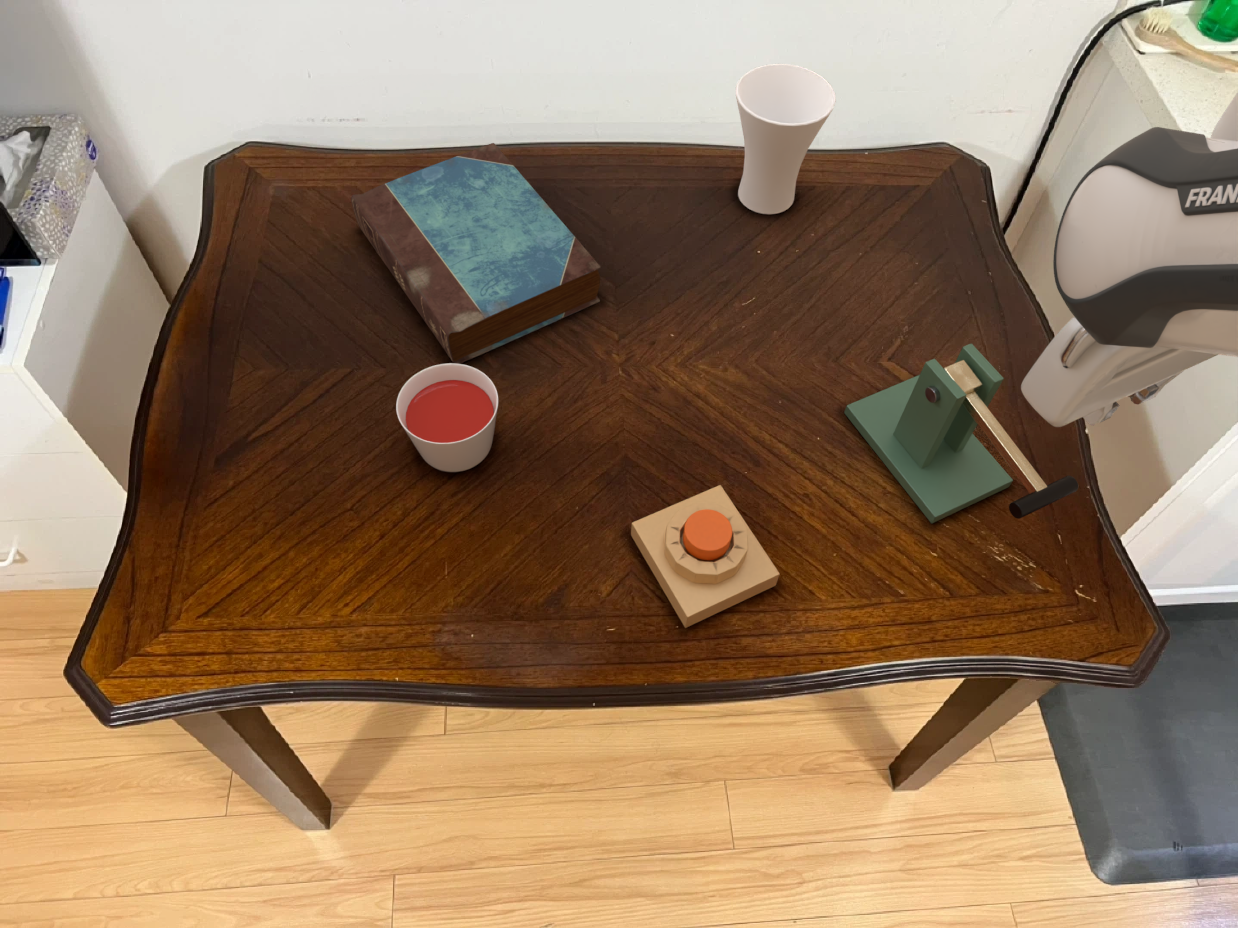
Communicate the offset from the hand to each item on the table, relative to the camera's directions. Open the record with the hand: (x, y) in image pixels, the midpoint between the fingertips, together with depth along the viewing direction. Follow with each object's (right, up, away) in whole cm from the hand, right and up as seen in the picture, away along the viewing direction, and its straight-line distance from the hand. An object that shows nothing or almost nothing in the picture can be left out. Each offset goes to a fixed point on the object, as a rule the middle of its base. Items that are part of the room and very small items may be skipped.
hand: (1114, 405), depth 67 cm
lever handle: (-3, -2, +14) cm, 14 cm away
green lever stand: (-6, -3, +23) cm, 24 cm away
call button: (-28, -13, +16) cm, 35 cm away
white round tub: (-50, -2, +23) cm, 55 cm away
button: (-28, -11, +13) cm, 32 cm away
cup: (-18, +27, +43) cm, 54 cm away
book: (-50, +17, +36) cm, 64 cm away
